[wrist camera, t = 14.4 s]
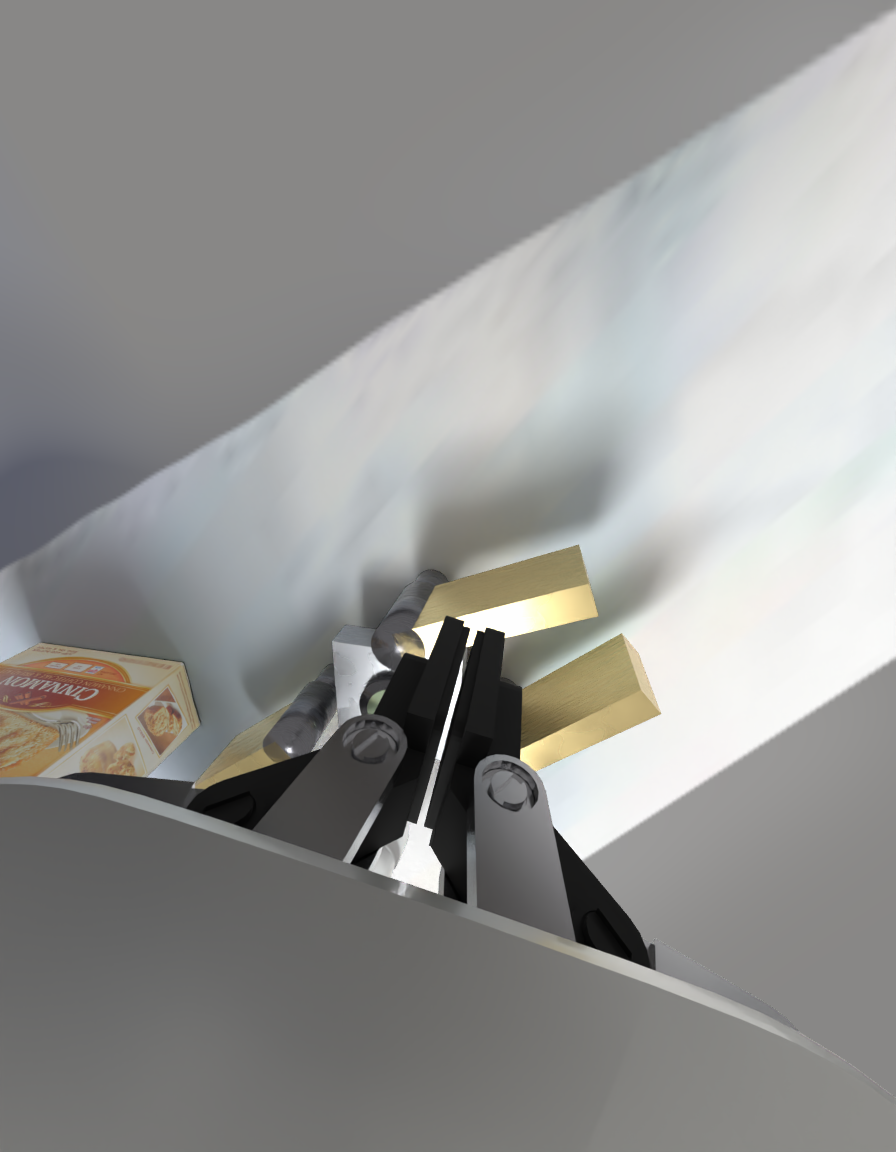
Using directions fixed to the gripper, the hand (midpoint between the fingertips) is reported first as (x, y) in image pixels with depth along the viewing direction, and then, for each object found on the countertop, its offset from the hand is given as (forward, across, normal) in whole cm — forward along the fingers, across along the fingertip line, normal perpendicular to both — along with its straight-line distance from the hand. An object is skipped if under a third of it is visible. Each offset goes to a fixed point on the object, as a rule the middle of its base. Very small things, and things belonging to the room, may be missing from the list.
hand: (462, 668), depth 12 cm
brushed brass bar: (+15, -6, +8) cm, 18 cm away
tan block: (+15, 0, +3) cm, 15 cm away
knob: (+15, +11, +18) cm, 26 cm away
